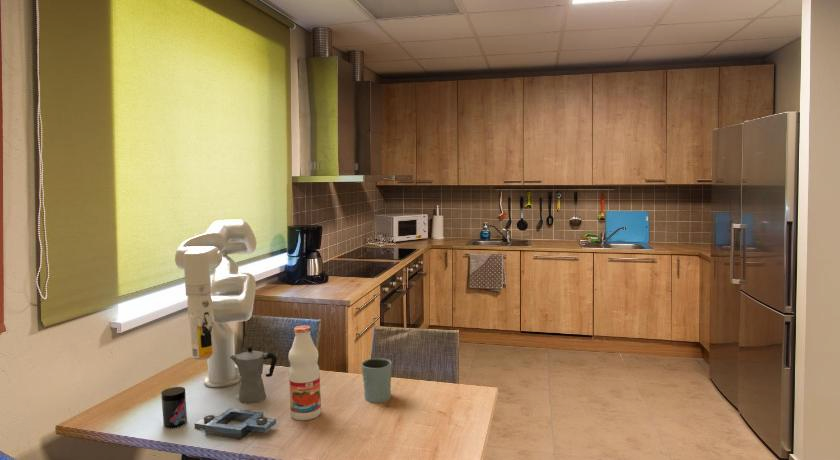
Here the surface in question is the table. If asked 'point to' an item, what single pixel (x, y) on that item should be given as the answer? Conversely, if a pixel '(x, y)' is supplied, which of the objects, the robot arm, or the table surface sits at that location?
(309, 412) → the fruit juice
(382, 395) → the drinking glass
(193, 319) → the beer can
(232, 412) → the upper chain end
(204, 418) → the lower chain end
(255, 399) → the coffeepot
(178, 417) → the supplement container
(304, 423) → the table surface
